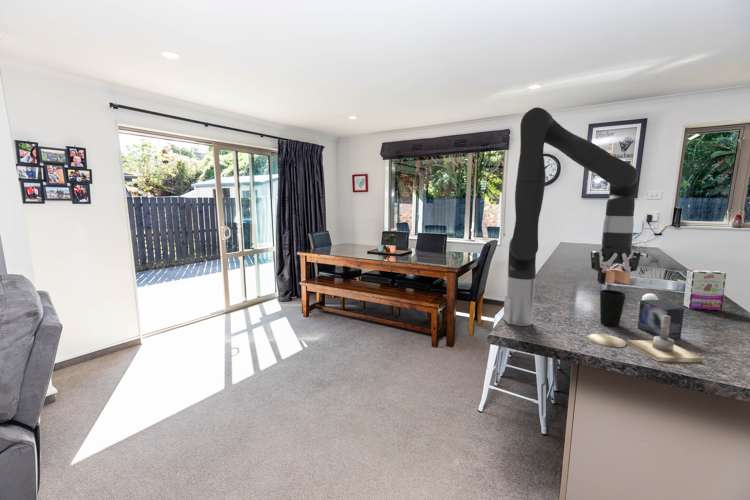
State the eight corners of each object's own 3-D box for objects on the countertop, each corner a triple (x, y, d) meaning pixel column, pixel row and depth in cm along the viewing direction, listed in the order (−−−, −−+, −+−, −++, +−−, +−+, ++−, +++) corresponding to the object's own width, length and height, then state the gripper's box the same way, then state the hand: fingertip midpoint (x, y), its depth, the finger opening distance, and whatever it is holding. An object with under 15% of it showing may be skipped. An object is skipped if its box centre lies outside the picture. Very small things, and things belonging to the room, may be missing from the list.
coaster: (600, 346, 103) (600, 345, 103) (582, 334, 113) (582, 333, 113) (633, 347, 102) (634, 346, 102) (612, 335, 112) (612, 334, 112)
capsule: (655, 315, 133) (657, 296, 132) (638, 312, 137) (640, 293, 136) (658, 313, 136) (660, 293, 135) (642, 309, 140) (644, 291, 139)
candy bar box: (713, 308, 143) (719, 270, 141) (721, 311, 138) (727, 272, 136) (681, 305, 146) (686, 269, 144) (688, 309, 142) (693, 271, 140)
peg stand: (657, 361, 94) (661, 322, 92) (627, 343, 105) (630, 309, 104) (701, 362, 93) (707, 323, 92) (666, 344, 105) (670, 310, 103)
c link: (597, 279, 108) (598, 268, 108) (616, 279, 108) (617, 268, 107) (609, 283, 102) (610, 272, 102) (629, 283, 102) (630, 272, 101)
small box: (635, 327, 120) (638, 299, 118) (652, 327, 120) (655, 299, 119) (663, 339, 109) (667, 308, 108) (681, 339, 110) (685, 308, 108)
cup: (626, 328, 118) (630, 295, 117) (602, 327, 120) (606, 294, 118) (615, 321, 126) (619, 290, 124) (593, 319, 127) (596, 289, 126)
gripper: (633, 230, 106) (627, 281, 109) (586, 229, 107) (582, 281, 109) (651, 232, 99) (644, 287, 101) (601, 231, 100) (596, 286, 102)
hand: (612, 283), depth 105 cm, fingers closed on c link, 6 cm apart
